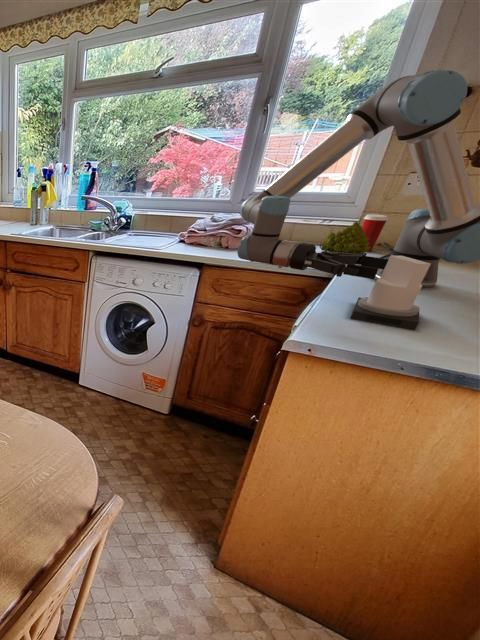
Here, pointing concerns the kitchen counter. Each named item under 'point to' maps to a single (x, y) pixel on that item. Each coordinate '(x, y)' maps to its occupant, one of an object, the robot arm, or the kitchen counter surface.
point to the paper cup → (373, 227)
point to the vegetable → (347, 241)
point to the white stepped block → (398, 283)
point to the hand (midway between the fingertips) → (384, 269)
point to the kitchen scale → (386, 315)
